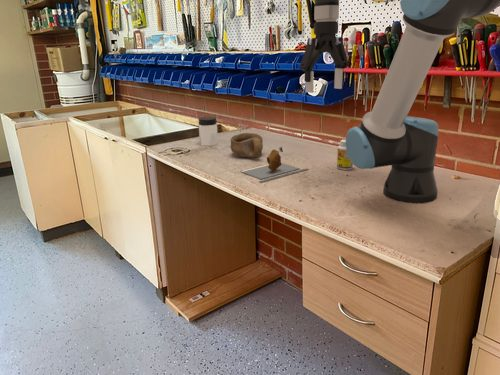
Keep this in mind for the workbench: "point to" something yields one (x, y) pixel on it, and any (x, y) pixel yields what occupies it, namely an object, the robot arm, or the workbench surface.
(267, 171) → the mat
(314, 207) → the workbench surface
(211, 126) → the jar
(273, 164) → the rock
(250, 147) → the bowl
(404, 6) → the robot arm
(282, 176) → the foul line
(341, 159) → the supplement bottle
